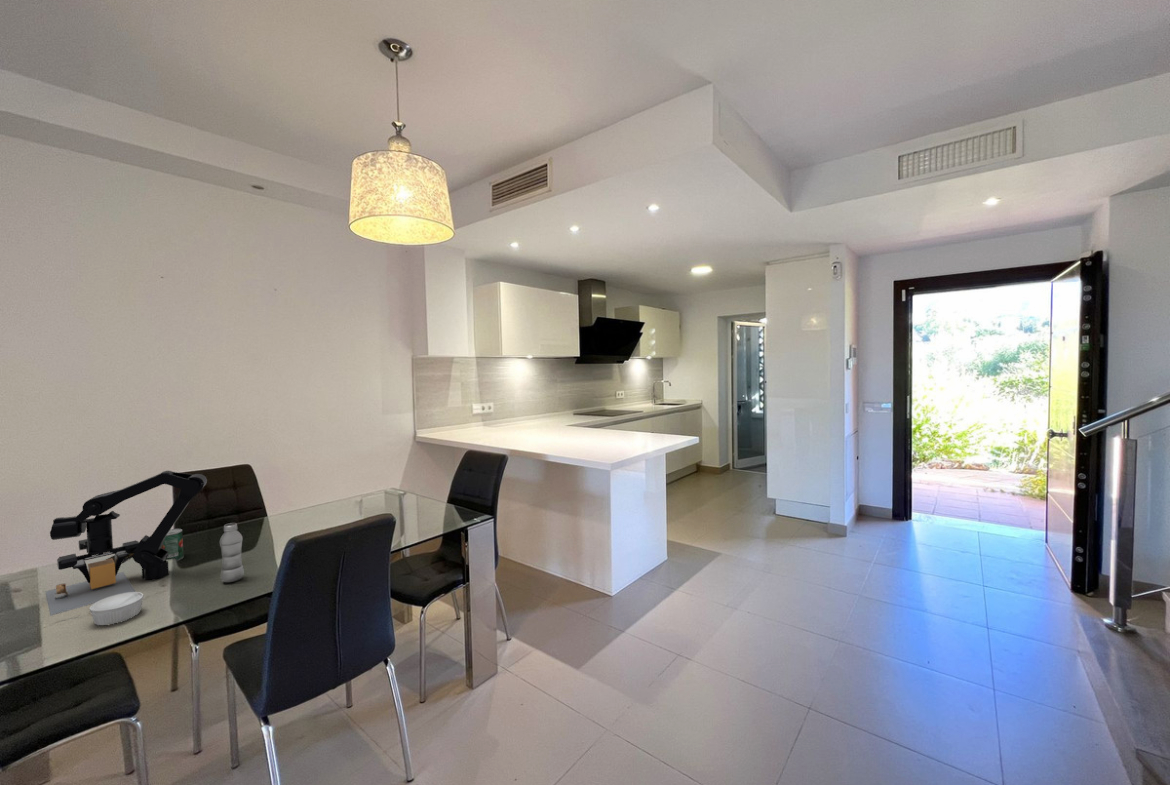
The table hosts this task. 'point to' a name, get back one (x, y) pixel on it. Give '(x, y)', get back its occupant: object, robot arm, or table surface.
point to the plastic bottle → (231, 554)
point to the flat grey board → (86, 594)
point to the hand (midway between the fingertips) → (102, 579)
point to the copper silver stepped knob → (61, 591)
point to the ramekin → (116, 608)
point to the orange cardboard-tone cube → (102, 573)
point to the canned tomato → (174, 544)
